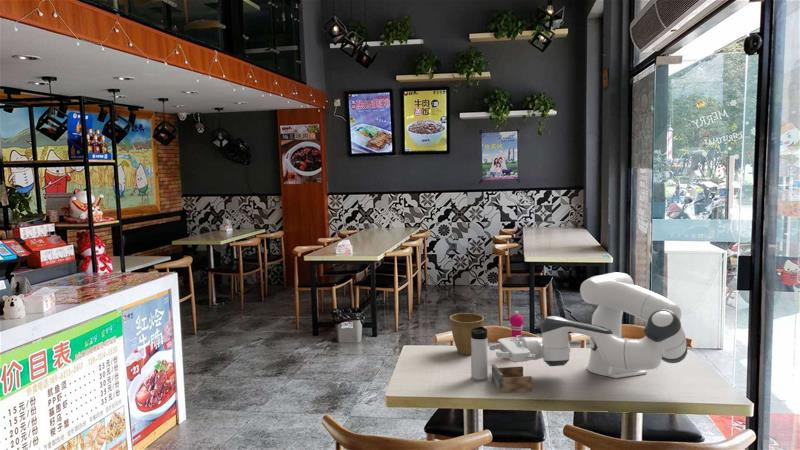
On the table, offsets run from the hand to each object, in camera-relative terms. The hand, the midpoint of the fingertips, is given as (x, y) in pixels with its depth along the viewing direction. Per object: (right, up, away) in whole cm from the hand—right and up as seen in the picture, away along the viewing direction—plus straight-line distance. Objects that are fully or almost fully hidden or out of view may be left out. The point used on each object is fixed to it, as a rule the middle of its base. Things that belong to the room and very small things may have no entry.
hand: (493, 351), depth 233 cm
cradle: (+6, -12, -6) cm, 15 cm away
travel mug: (-5, -11, +2) cm, 12 cm away
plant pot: (-6, -8, +34) cm, 35 cm away
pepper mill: (+14, -8, +28) cm, 32 cm away
